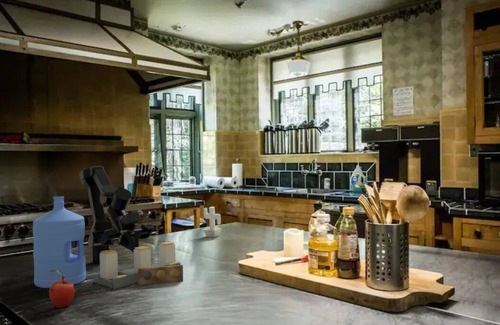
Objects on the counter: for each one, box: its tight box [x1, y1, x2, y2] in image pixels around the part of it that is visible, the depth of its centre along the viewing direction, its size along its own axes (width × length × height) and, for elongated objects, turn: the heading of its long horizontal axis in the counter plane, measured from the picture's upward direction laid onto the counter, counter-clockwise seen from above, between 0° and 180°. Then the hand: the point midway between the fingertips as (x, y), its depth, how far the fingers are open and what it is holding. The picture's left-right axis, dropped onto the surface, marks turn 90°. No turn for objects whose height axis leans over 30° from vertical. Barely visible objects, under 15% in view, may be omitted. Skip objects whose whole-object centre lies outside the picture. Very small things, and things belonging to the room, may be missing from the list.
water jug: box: [32, 195, 87, 289], centre depth 139 cm, size 16×16×28 cm
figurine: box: [202, 206, 223, 238], centre depth 217 cm, size 7×9×15 cm
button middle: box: [133, 245, 152, 273], centre depth 142 cm, size 4×4×9 cm
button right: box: [158, 241, 177, 266], centre depth 150 cm, size 4×4×9 cm
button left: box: [99, 249, 119, 280], centre depth 138 cm, size 4×4×9 cm
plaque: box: [137, 264, 184, 286], centre depth 136 cm, size 14×2×5 cm, turn 103°
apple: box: [48, 270, 76, 309], centre depth 115 cm, size 8×7×10 cm
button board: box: [93, 261, 181, 290], centre depth 144 cm, size 12×26×3 cm, turn 138°
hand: (138, 253), depth 144 cm, fingers closed, pressing on button middle
